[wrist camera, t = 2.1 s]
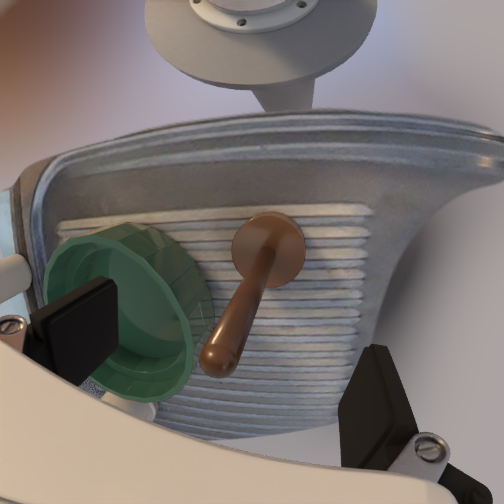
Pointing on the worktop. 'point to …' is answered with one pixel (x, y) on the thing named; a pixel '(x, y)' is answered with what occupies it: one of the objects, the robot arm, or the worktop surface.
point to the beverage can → (14, 276)
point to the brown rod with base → (253, 284)
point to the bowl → (140, 306)
